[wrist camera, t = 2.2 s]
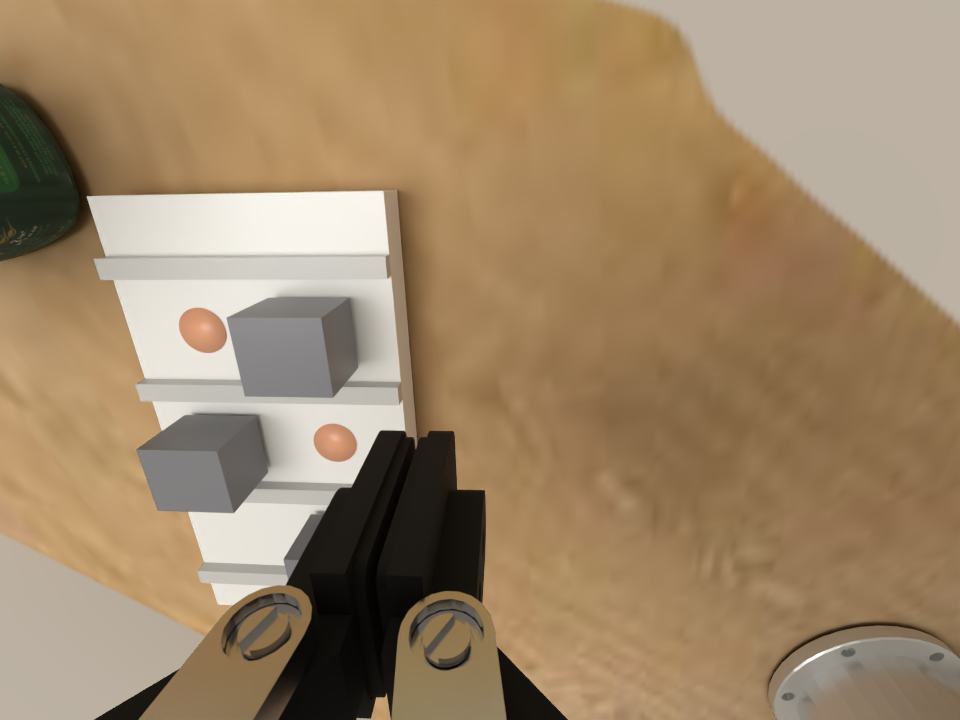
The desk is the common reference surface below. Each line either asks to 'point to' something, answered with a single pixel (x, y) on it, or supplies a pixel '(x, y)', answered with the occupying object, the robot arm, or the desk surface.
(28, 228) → the coffee jar
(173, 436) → the tab
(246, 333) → the tab
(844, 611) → the desk surface
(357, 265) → the switch board
